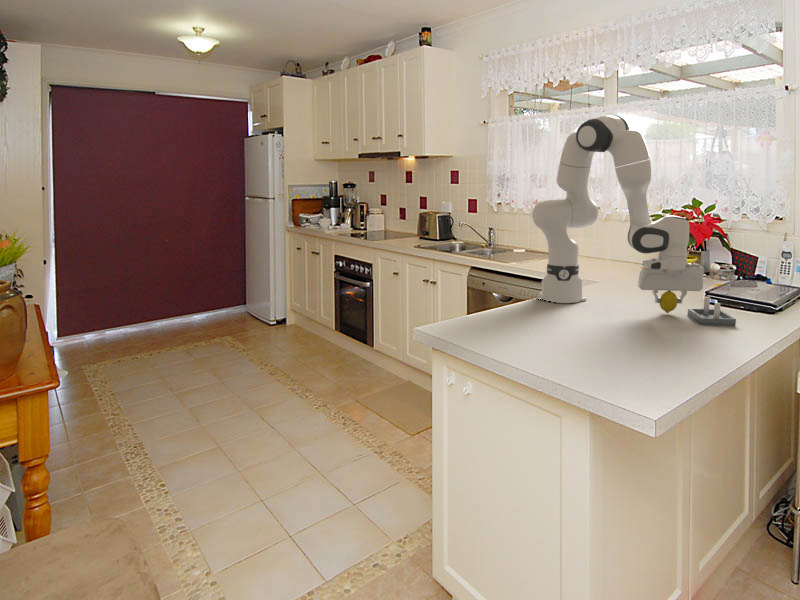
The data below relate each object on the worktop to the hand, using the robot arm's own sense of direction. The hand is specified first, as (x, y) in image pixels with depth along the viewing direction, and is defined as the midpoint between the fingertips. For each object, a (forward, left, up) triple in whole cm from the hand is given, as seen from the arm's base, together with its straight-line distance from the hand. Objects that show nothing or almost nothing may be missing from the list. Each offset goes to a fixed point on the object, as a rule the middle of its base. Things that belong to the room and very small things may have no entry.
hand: (668, 302), depth 191 cm
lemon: (0, 0, -4) cm, 4 cm away
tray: (+8, +11, -4) cm, 14 cm away
